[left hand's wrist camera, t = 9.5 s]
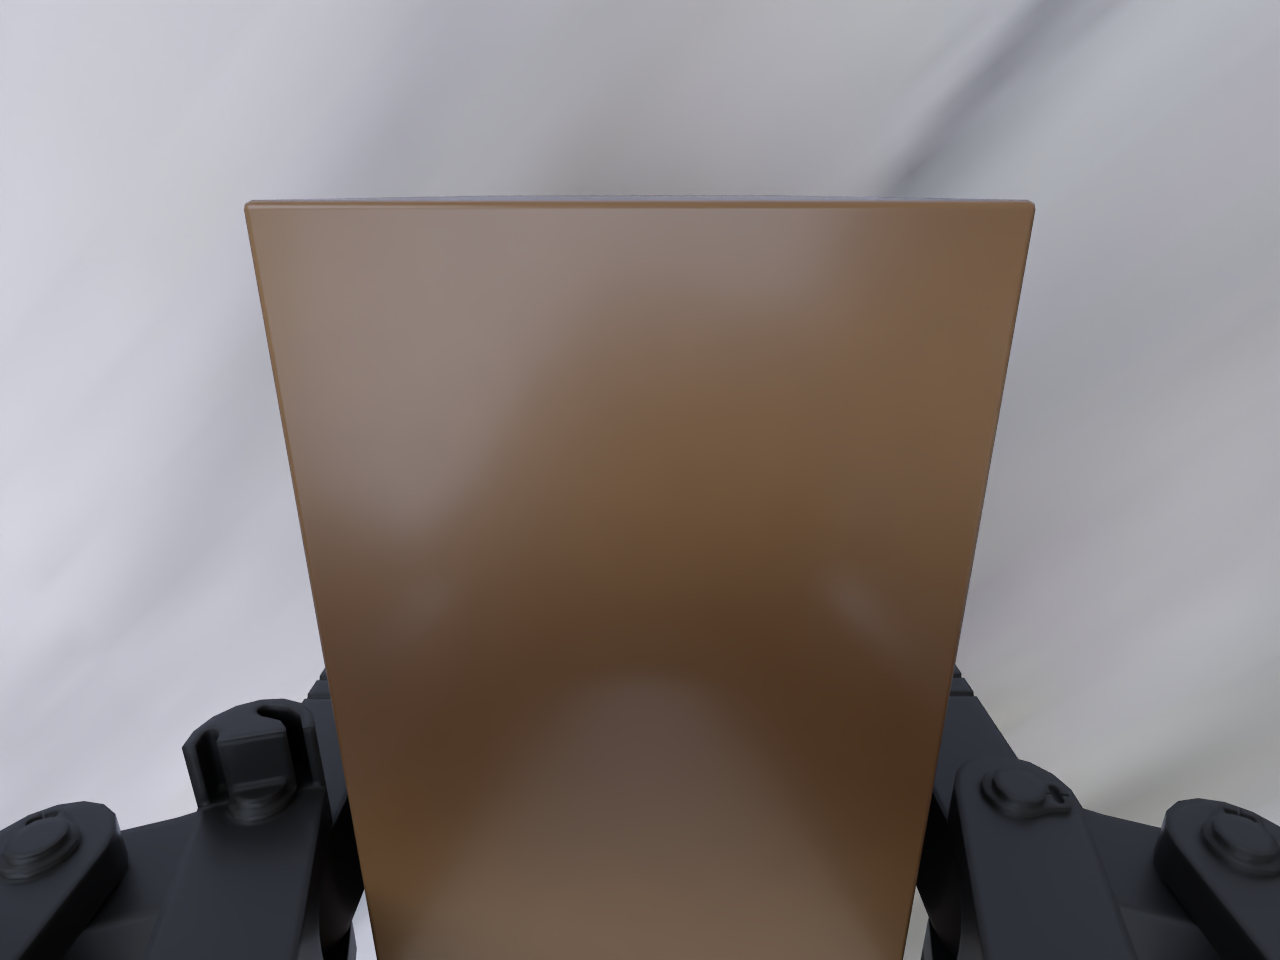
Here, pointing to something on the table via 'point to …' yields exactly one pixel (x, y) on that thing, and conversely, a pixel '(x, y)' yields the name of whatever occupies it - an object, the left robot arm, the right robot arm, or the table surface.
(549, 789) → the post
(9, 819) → the table surface
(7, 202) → the table surface
